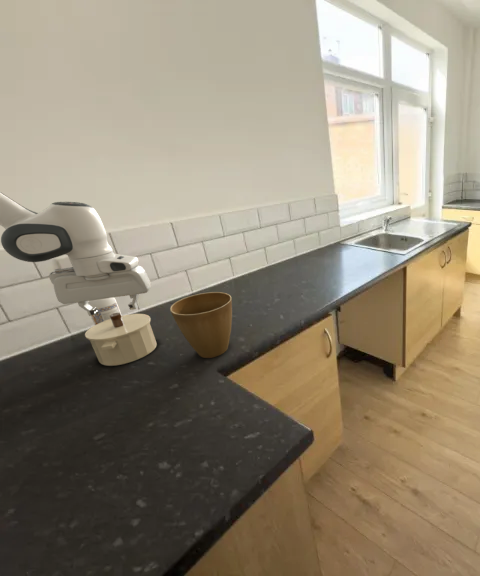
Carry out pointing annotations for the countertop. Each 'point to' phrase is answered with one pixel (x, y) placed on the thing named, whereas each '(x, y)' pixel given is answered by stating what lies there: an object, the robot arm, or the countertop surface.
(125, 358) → the pot
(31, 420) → the countertop surface
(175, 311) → the plant pot
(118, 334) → the lid
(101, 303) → the bath foam
